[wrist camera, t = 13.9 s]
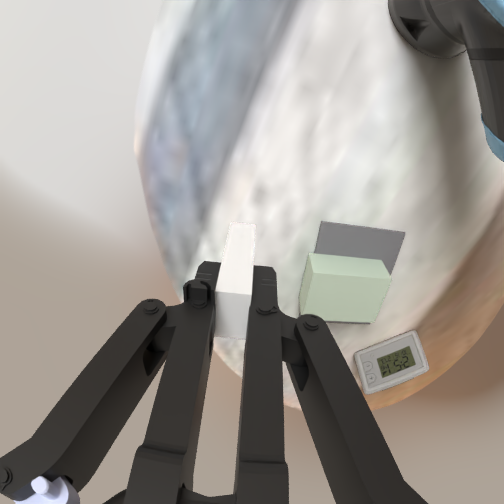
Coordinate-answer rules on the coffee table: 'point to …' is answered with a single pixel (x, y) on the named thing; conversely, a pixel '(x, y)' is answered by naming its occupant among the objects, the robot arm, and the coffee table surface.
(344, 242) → the felt pad
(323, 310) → the sage block
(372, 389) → the digital clock
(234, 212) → the coffee table surface
